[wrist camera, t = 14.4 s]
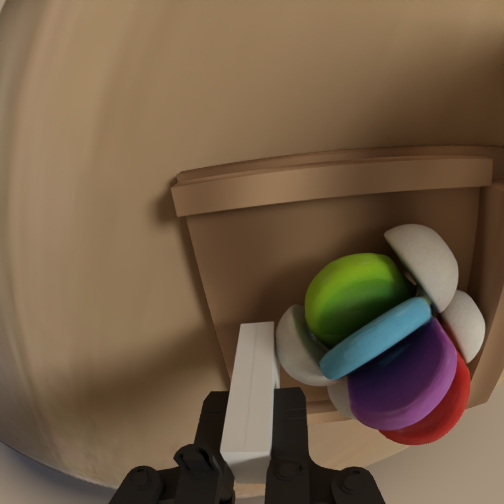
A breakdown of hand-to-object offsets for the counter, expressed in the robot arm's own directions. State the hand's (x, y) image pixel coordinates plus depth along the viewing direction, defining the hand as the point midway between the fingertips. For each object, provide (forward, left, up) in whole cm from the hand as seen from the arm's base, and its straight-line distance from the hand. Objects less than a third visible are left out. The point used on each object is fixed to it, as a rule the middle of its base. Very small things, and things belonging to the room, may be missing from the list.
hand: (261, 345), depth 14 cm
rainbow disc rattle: (+6, 0, -2) cm, 6 cm away
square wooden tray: (+6, 0, -2) cm, 6 cm away
